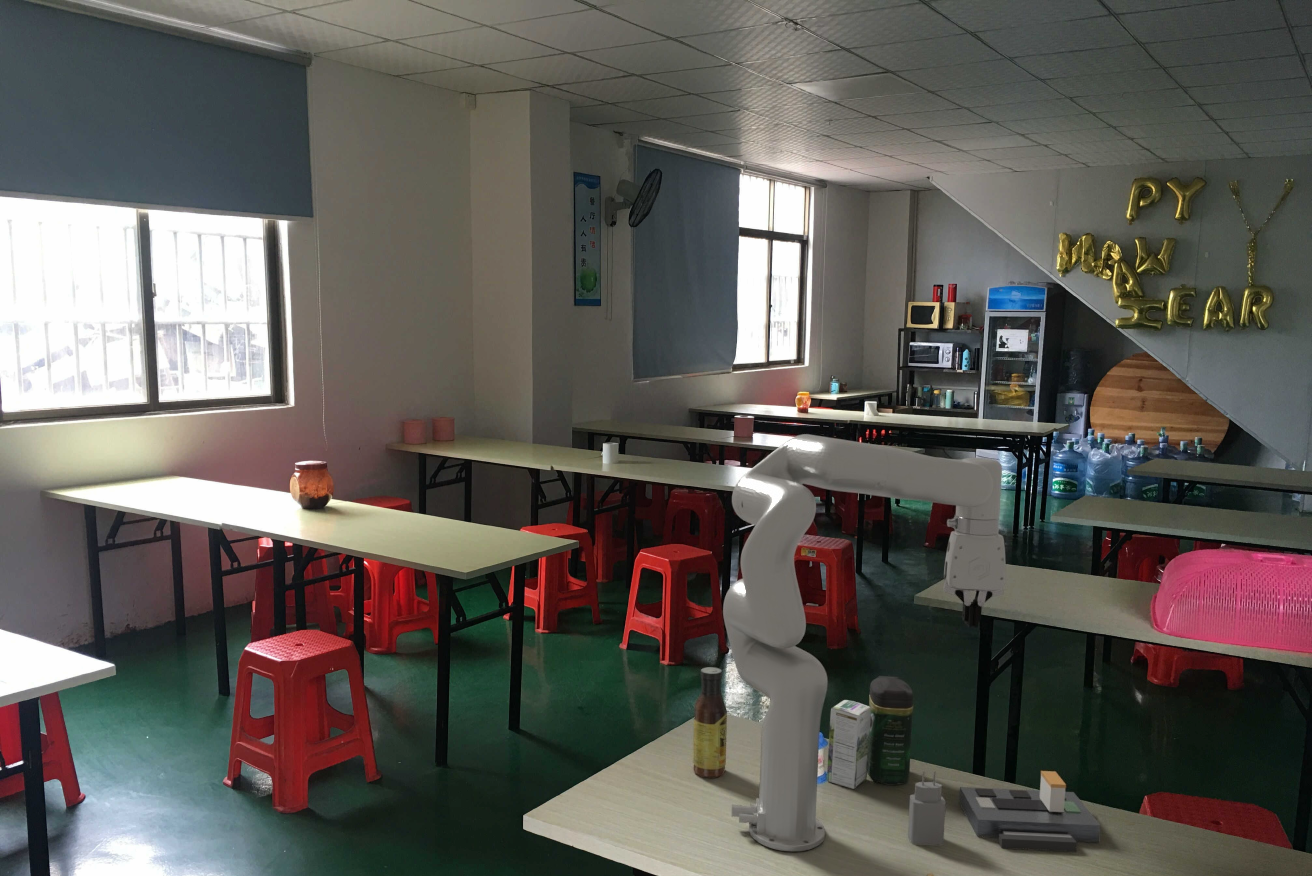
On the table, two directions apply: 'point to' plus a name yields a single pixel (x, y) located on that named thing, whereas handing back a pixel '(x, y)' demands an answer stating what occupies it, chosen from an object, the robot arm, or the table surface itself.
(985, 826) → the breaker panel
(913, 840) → the power adapter
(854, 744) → the syrup box
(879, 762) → the coffee jar
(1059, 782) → the lever
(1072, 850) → the dark grey bar
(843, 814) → the table surface
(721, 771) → the sauce bottle
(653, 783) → the table surface
